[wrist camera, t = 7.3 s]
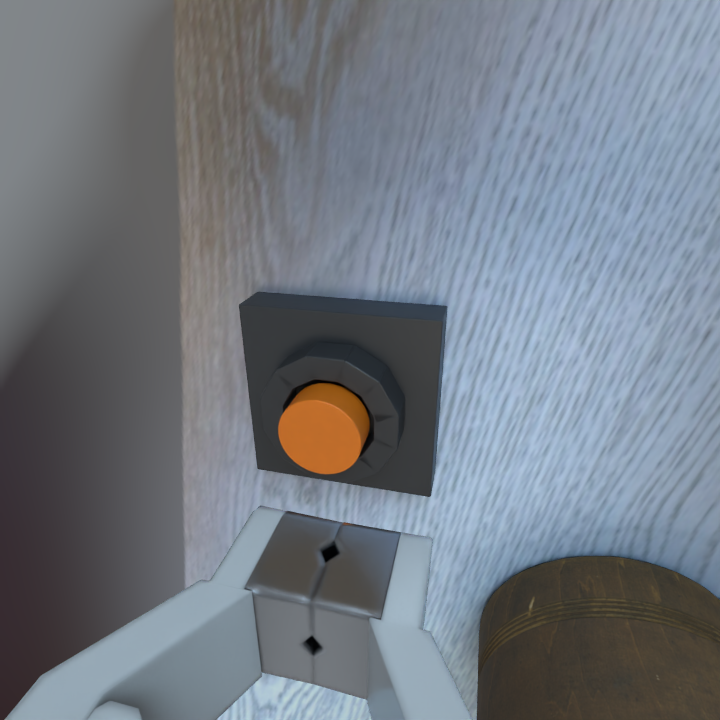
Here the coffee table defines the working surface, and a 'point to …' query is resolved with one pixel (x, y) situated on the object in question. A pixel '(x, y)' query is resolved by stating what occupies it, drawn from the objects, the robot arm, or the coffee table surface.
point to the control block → (350, 379)
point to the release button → (324, 428)
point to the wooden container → (599, 644)
